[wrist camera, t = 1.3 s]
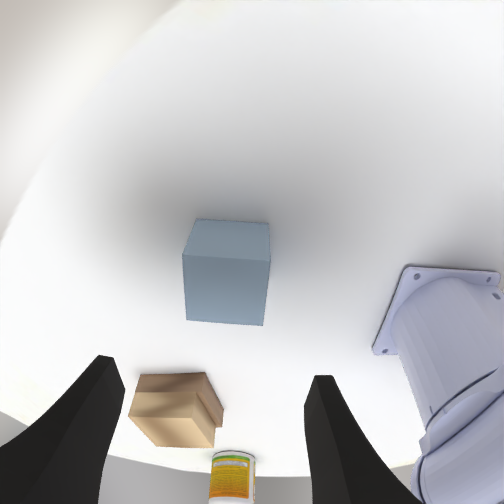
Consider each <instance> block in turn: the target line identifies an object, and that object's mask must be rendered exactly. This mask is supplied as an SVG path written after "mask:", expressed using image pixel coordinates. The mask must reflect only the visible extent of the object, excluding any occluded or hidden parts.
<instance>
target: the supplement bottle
mask: <svg viewBox="0 0 504 504" xmlns="http://www.w3.org/2000/svg"><path fill="white" fill-rule="evenodd" d="M254 501H255V459H254V457H253V456H251V455H249V454H246V453H242V452H235V451H226V452H220V453H217V454H215V455H214V456H213V459H212V470H211V480H210V492H209V504H254V503H255V502H254Z"/></svg>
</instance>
